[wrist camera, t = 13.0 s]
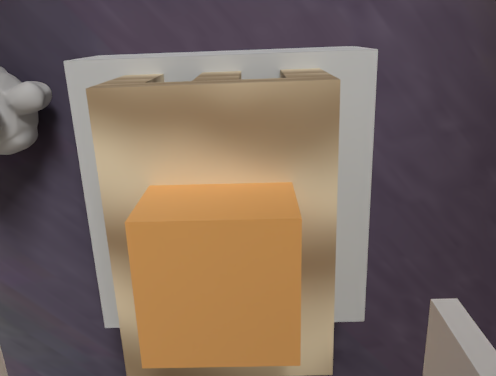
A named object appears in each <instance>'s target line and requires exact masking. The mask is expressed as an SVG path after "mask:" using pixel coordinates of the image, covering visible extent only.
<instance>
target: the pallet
mask: <svg viewBox="0 0 496 376" xmlns="http://www.w3.org/2000/svg"><path fill="white" fill-rule="evenodd" d="M86 96H87V103H88V110H89V117H90V124H91V130H92V137H93V144H94V151H95V158H96V165H97V172H98V179H99V186H100V193H101V200H102V207H103V214H104V221H105V228H106V235H107V242H108V249H109V256H110V263H111V270H112V277H113V284H114V291H115V298H116V305H117V311H118V318H119V325H120V332H121V339H122V346H123V353H124V360H125V367H126V374H127V376H303V375H333V340H334V303H335V266H336V229H337V192H338V154H339V117H340V79H338V78H337V77H335V76H333V75H331V74H329V73H327V72H325V71H324V70H322V69H320V68H312V69H284V70H280V78H267V79H242V78H241V71H228V72H202V73H201V74H200V75H199V76H197V77H196V78H195V79H194V80H192V81H183V82H164V74H144V75H124V76H121V77H118V78H115V79H112V80H109V81H106V82H103V83H100V84H98V85H95V86H92V87H89V88H86ZM277 182H292V183H293V187H294V191H295V194H296V198H297V202H298V206H299V209H300V213H301V217H302V262H301V362H300V366H258V367H200V368H142V363H141V354H140V346H139V338H138V329H137V321H136V313H135V305H134V296H133V288H132V280H131V271H130V263H129V255H128V246H127V238H126V230H125V221H126V220H127V218H128V217H129V215H130V214H131V212H132V211H133V209H134V208H135V206H136V205H137V203H138V202H139V200H140V199H141V197H142V196H143V194H144V193H145V191H146V190H147V188H148V187H149V186H150V185H192V184H234V183H277Z"/></svg>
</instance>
